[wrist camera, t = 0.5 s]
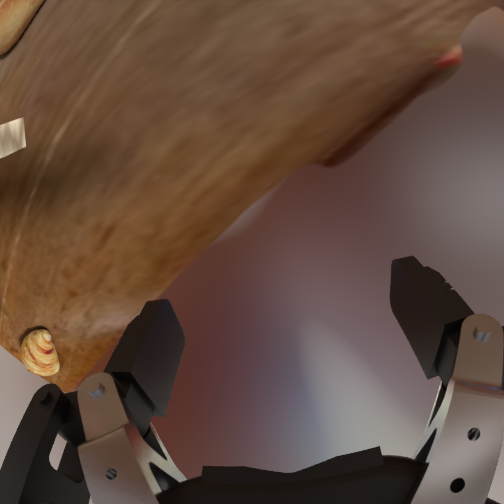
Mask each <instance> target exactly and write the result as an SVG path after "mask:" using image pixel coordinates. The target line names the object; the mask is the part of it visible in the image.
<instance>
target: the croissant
mask: <svg viewBox="0 0 504 504" xmlns="http://www.w3.org/2000/svg"><path fill="white" fill-rule="evenodd" d="M21 358H22V361H23V363H24V365H25V366H26V368H27V370H28V371H30V372H32V373H34V374H37V375H40V376H48V375H53V374H55V373H57V372H58V370H59V366H60V364H59V360H58V359H59V357H58V355H57V352H56V350H55V346H54V343H53V342H52V340H51V335H50V333H49V332H48V331H47V330H45V329H40V330H34V331H32V332H30V333H29V334H27V335H26V336H25V338H24V340H23V343H22V346H21Z"/></svg>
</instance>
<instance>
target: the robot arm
mask: <svg viewBox="0 0 504 504" xmlns="http://www.w3.org/2000/svg"><path fill="white" fill-rule="evenodd" d="M390 305H391V309H392V312H393V314H394V316H395V317H396V319H397V321H398V323H399V325H400V326H401V328H402V330H403V332H404V334H405V335H406V338H407V339H408V341H409V343H410V345H411V347H412V349H413V351H414V353H415V355H416V357H417V359H418V361H419V363H420V365H421V367H422V369H423V371H424V373H425V375H426V377H427V379H431V378H433V377H436V376H439V377H440V378H441V380H442V381H441V384H440V386H439V390H438V393H437V396H436V400H435V403H434V406H433V409H432V412H431V415H430V418H429V421H428V423H427V426H426V429H425V431H424V434H423V436H422V438H421V440H420V442H419V444H418V446H417V448H416V450H415V452H414V454H413V457H412V458H408V457H403V456H394V455H382V454H381V449H380V446H378V447H375V448H371V449H367V450H363V451H359V452H355V453H350V454H346V455H341V456H336V457H334V458H331V459H329V460H326V461H324V462H321V463H319V464H316V465H314V466H311V467H308V468H306V469H303V470H300V471H297V472H294V473H282V472H274V471H267V470H261V469H256V468H250V467H245V466H242V467H241V466H238V467H223V466H220V467H219V466H203V470H202V476H197V477H194V478H191V479H186V478H185V477H184V475H183V474H182V473H181V472H180V471H179V470H178V469H177V467H176V466H175V465H174V463H173V461H172V460H171V458H170V456H169V455H168V453H167V451H166V449H165V447H164V446H163V444H162V442H161V440H160V438H159V436H158V435H157V432H156V431H155V429H154V427H153V425H152V424H151V423H150V422H151V418H152V416H161V417H165V414H166V410H167V406H168V403H169V399H170V395H171V391H172V388H173V385H174V381H175V377H176V374H177V371H178V367H179V364H180V360H181V357H182V353H183V350H184V346H185V336H184V332H183V329H182V327H181V326H180V323H179V321H178V318H177V316H176V314H175V312H174V310H173V307H172V305H171V303H170V301H169V300H168V299H160V300H153V301H147V302H146V304H145V306H144V307H143V309H142V311H141V313H140V315H138V316H137V317H135V318H134V319H133V320H132V321H131V322H130V323H129V324H128V326H127V328H126V330H125V331H124V333H123V337H121V339H120V341H119V345H117V347H116V348H115V350H114V352H113V354H112V356H111V358H110V360H109V362H108V364H107V366H106V368H105V370H104V372H103V373H102V372H101V373H96V374H93V375H91V376H90V377H88V378H87V379H86V380H84V382H83V383H82V384H81V385H80V388H79V390H78V391H75V392H70V393H65V394H64V393H63V392H62V391H61V389H60V388H59V387H58V386H57V385H56V384H46V385H44V386H42V387H41V388H40V389H39V390H38V391H37V392H36V393H35V394H34V396H33V398H32V400H31V402H30V404H29V406H28V408H27V410H26V412H25V414H24V416H23V418H22V420H21V422H20V424H19V426H18V428H17V431H16V433H15V435H14V437H13V440H12V442H11V444H10V447H9V449H8V452H7V454H6V456H5V459H4V462H3V464H2V467H1V470H0V504H89V499H90V496H91V498H92V501H93V504H500V503H498V502H496V501H494V500H491V499H489V498H487V495H488V493H489V490H490V487H491V483H492V480H493V477H494V474H495V470H496V466H497V463H498V459H499V455H500V451H501V446H502V441H503V436H504V326H501V325H500V323H499V322H498V321H497V320H496V319H494V318H493V317H491V316H488V315H485V314H474V312H473V311H472V310H471V309H470V307H469V306H468V305H467V304H466V303H465V301H464V300H463V299H462V298H461V297H460V296H459V294H458V293H457V292H456V291H455V290H453V288H452V286H451V285H450V284H449V283H447V281H446V280H445V279H444V277H443V276H442V275H441V274H440V273H439V272H437V271H435V270H433V269H431V268H430V267H428V266H427V267H423V266H422V264H421V263H420V262H419V261H418V260H417V259H416V258H415V257H414V256H408V257H403V258H399V259H394V260H393V261H392V264H391V285H390ZM57 433H58V434H59V435H60V436H61V437H62V438H63V439H65V440H66V441H67V444H66V446H65V449H64V452H63V455H62V458H61V461H60V464H59V467H58V470H55V469H54V468H53V467H52V466H51V464H50V462H49V455H50V452H51V449H52V446H53V444H54V441H55V438H56V436H57Z"/></svg>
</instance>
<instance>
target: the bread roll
mask: <svg viewBox="0 0 504 504" xmlns="http://www.w3.org/2000/svg"><path fill="white" fill-rule="evenodd" d="M43 2H44V0H0V55H3V54H4V53H6V52H7V51H8V50H10V49H11V48H12V47H13V45H14V44H15V43H16V42H17V41H18V39H19V38H20V36H21V35H22V33H23V32H24V30H25V28H26V27H27V26H28V24H29V22H30V21H31V19H32V18H33V16H34V15H35V13H36V12H37V10H38V8H39V7H40V6H41V4H42V3H43Z"/></svg>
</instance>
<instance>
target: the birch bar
mask: <svg viewBox="0 0 504 504" xmlns="http://www.w3.org/2000/svg"><path fill="white" fill-rule="evenodd" d="M24 147H26V141H25V132H24V121H23V118H20V119H16V120H13V121H10V122H8V123H5V124H2V125H0V158H3V157H5V156H7V155H9V154H11V153H14V152H16V151H18V150H20V149H22V148H24Z"/></svg>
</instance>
